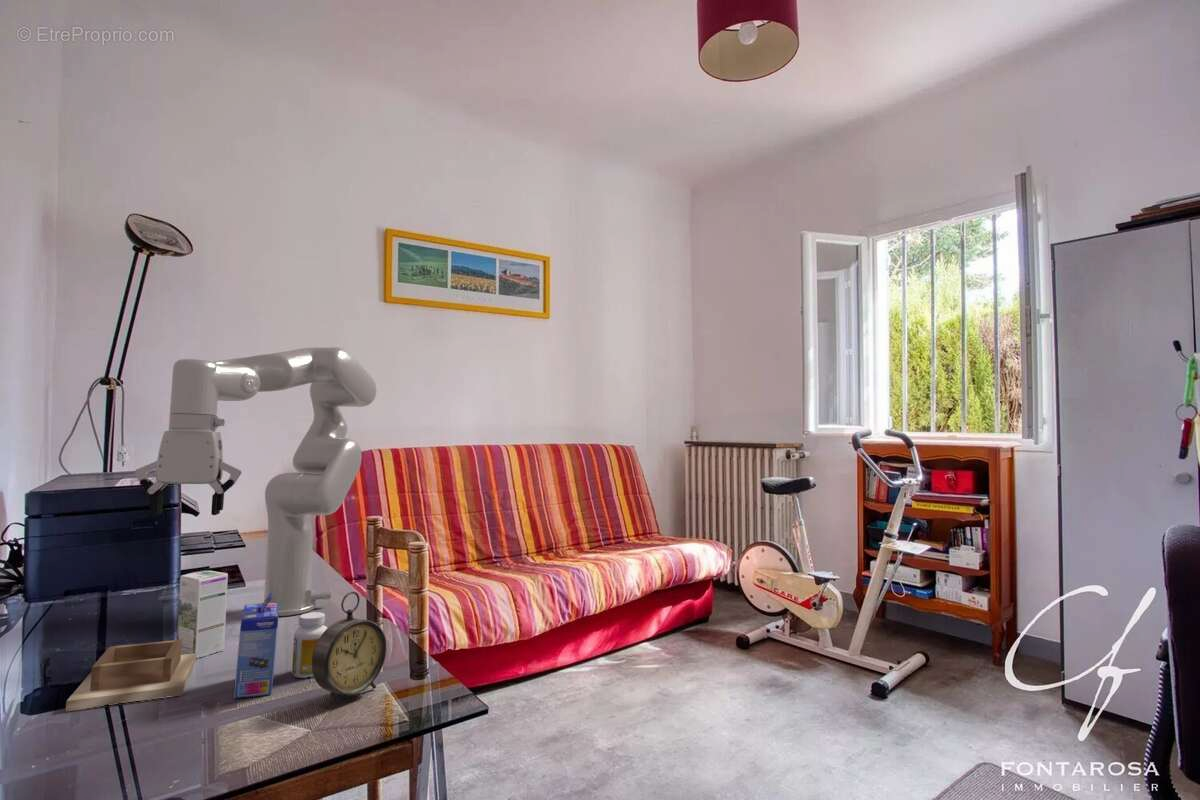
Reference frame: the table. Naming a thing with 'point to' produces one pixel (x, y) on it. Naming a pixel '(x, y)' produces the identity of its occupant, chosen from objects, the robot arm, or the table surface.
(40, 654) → the table surface
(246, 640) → the ink cartridge box
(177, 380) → the robot arm
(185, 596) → the syrup box
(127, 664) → the desk stand
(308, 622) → the supplement bottle
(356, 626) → the alarm clock
